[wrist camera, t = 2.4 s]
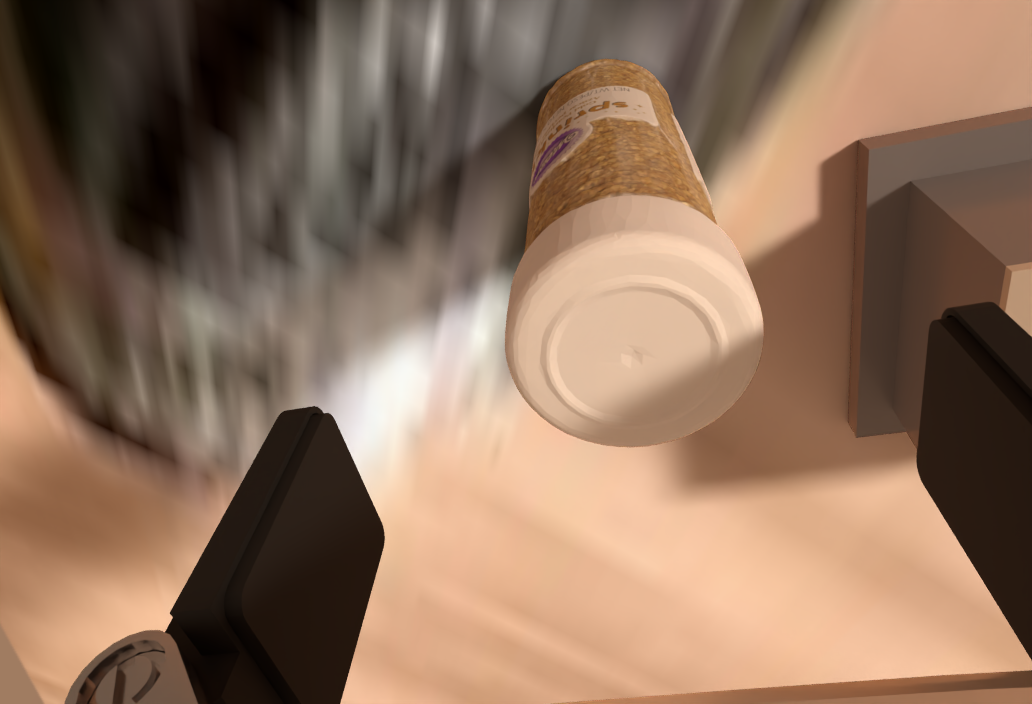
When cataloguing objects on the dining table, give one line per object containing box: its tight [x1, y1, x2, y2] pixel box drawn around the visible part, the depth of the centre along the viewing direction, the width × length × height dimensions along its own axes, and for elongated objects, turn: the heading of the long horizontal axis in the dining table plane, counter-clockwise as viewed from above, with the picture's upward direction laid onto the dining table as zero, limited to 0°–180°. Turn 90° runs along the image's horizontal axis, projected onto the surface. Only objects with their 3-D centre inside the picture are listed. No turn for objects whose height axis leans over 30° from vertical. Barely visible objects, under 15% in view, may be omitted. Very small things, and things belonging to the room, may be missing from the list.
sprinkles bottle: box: [505, 59, 764, 447], centre depth 18 cm, size 5×5×14 cm
